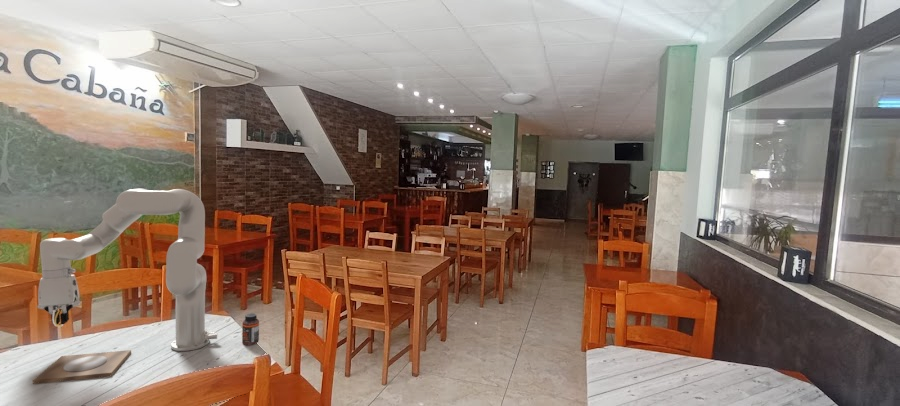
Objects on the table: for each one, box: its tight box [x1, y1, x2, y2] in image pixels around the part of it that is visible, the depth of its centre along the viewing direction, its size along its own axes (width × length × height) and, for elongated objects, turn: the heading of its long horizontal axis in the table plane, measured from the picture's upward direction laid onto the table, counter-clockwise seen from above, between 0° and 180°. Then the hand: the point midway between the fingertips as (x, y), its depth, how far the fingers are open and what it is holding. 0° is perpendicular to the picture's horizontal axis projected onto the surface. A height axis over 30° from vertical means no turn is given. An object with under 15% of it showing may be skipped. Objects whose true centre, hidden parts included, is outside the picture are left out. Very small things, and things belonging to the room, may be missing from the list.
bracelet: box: [51, 305, 65, 328], centre depth 150 cm, size 7×3×8 cm, turn 13°
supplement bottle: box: [241, 312, 260, 346], centre depth 165 cm, size 6×6×11 cm
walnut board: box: [32, 349, 132, 385], centre depth 141 cm, size 20×17×2 cm
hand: (60, 323), depth 150 cm, fingers closed on bracelet, 1 cm apart
